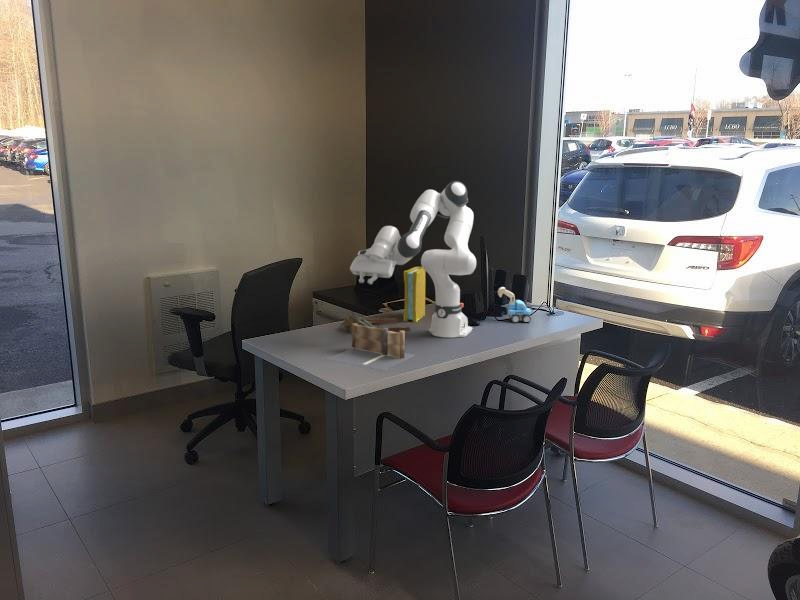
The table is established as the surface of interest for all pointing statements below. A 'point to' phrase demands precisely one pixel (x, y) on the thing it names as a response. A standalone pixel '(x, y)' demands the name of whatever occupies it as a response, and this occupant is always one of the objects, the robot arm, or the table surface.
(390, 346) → the fixed fence
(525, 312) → the toy excavator
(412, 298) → the book
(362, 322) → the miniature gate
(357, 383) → the table surface
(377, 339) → the fence leaf
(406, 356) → the board
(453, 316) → the robot arm
